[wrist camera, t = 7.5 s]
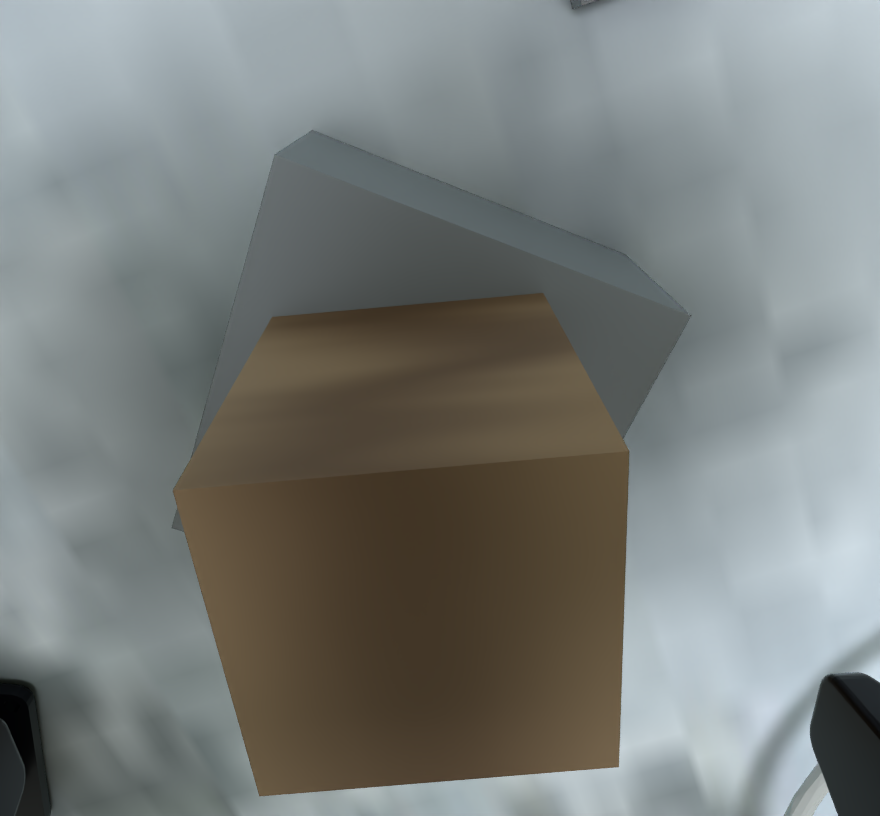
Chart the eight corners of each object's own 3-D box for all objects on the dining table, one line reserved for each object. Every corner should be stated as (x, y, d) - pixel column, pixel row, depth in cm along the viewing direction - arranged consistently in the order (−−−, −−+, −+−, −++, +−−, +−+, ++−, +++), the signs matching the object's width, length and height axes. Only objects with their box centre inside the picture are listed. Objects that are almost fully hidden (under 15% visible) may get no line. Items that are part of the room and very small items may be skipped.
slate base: (497, 507, 21) (518, 627, 17) (227, 421, 20) (171, 527, 15) (623, 252, 18) (691, 315, 14) (313, 129, 17) (275, 154, 12)
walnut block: (543, 292, 13) (629, 450, 8) (548, 520, 15) (619, 767, 10) (271, 317, 13) (172, 490, 8) (314, 540, 16) (259, 796, 10)
